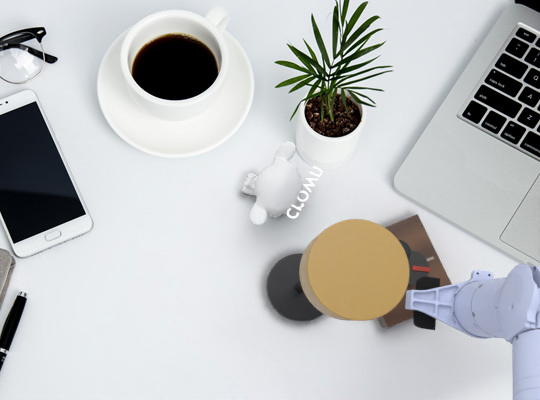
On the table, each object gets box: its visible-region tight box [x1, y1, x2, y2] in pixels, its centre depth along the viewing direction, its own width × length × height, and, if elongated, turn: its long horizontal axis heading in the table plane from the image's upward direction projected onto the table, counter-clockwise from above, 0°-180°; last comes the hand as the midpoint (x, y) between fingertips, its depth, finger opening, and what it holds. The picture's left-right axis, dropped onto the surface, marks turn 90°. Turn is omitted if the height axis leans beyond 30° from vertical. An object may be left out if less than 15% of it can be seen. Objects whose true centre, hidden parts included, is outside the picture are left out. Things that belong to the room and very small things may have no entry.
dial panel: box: [377, 214, 453, 329], centre depth 82 cm, size 12×10×3 cm
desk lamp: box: [265, 218, 411, 322], centre depth 60 cm, size 9×10×48 cm
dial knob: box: [407, 251, 430, 287], centre depth 78 cm, size 4×4×4 cm
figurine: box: [241, 140, 324, 227], centre depth 82 cm, size 12×8×10 cm
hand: (449, 309), depth 73 cm, fingers open, 7 cm apart
